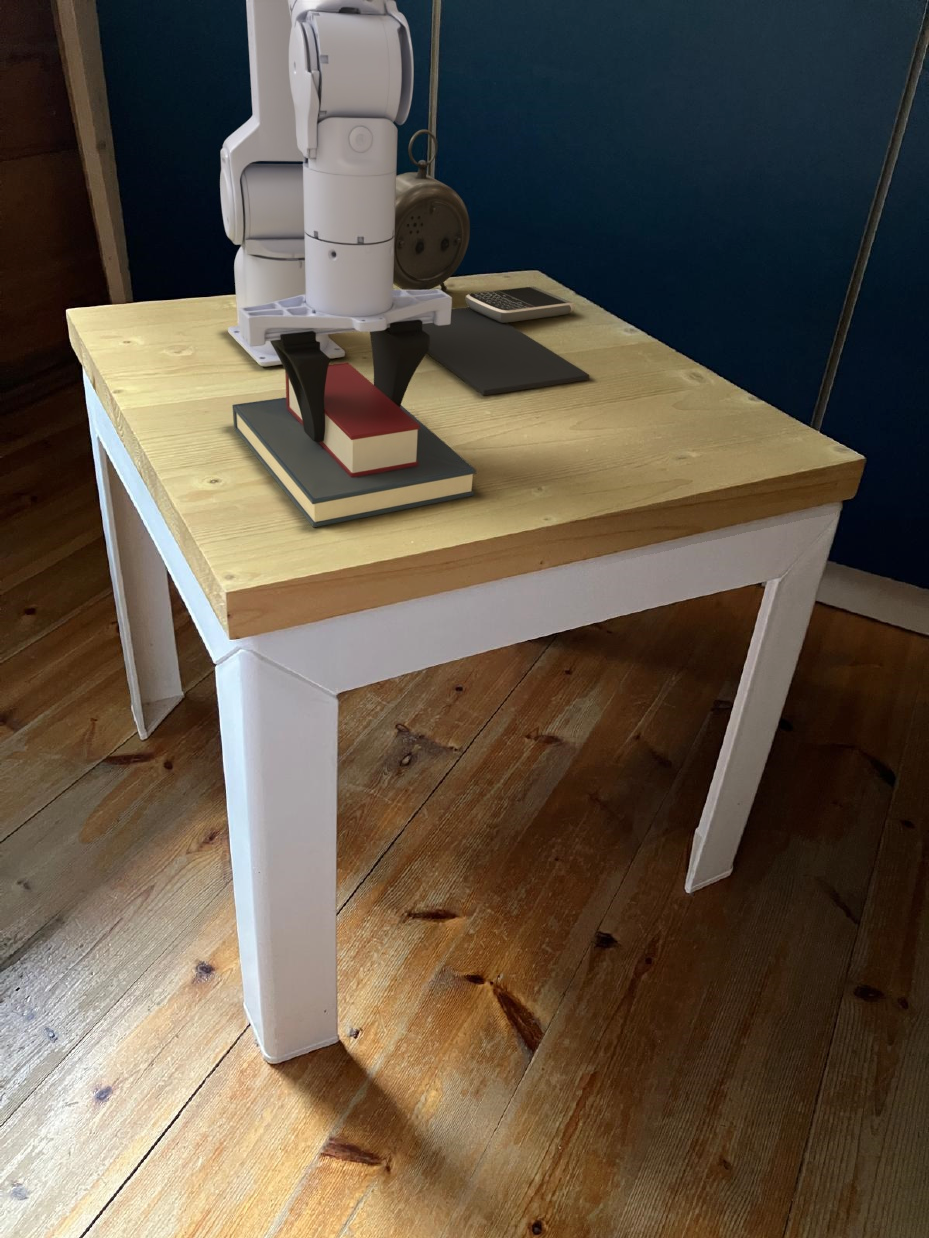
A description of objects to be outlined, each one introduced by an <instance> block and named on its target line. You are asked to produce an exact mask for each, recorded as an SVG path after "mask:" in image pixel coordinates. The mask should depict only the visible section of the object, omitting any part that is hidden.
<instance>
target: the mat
mask: <svg viewBox="0 0 929 1238" xmlns="http://www.w3.org/2000/svg"><path fill="white" fill-rule="evenodd" d="M422 330H423V331H424V332H425V333H427V334H428V335H429V336H430V346H429V351H428V352H427V354H426V355H429V357H431V358H433V359H434V360H436V361H437V362H438V363H439V364H441V365H442V366H443V367H445V368H446V369H447V370H449V371H450V372H451V373H453V374H454V375H455V376H457V377H458V378H459V379H460V380H462V381H463V382H465V383H466V384H467V385H468V386H470V387H471V388H473V389H474V390H475V391H477V392H478V393H479V394H480V395H482V396H489V395H496V394H502V393H510V392H517V391H523V390H531V389H536V388H542V387H548V386H550V387H551V386H555V385H556V386H557V385H562V384H569V383H575V382H576V383H577V382H583V381H589V379H590V374H589V373H587V372H586V371H584V370H583V369H581V368H580V367H578V366H576V365H574V364H573V363H572V362H570V361H569V360H566V359H565V358H564V357H561V356H560V355H558V354H557V353H555V352H553V350H550V349H549V348H547V347H546V346H545V345H543V344H541V343H539V342H538V341H536V340H534V339H533V338H532V337H530V336H528V335H527V334H525V333H524V332H522V331H520V330H519V329H517V328H516V327H514V326H512V325H511V324H509V323H508V322H507V323H501V322H498V321H496V320H494V319H491V318H489V317H487V316H485V315H482V314H480V313H478V312H476V311H474V310H472V309H470V308H469V307H468V306H467V307H457V308H451V323H450V325H441V326H438V325H435V324H434V323H426V324H422Z"/></svg>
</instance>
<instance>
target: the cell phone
mask: <svg viewBox="0 0 929 1238" xmlns="http://www.w3.org/2000/svg"><path fill="white" fill-rule="evenodd" d="M465 303H466V305H467V307H469V308H470V309H472V310H474V311H476V312H478V313H480V314H482V315H485V316H487V317H489V318H491V319H494V320H496V321H498V322H501V323H507V324H508V323H513V322H521V321H527V320H529V321H530V320H535V319H543V318H551V317H557V316H563V315H564V316H565V315H570V314H571V313H572V312H573V311H574V309H575V307H576V303H575V302H573V301H570V300H568V299H565V298H563V297H560V296H558V295H556V294H553V293H550V292H548V291H546V290H543V289H541V288H539V287H536V286H525V287H517V288H508V289H507V288H506V289H499V290H497V289H496V290H489V291H481V292H473V293H469V294H467V295H465Z"/></svg>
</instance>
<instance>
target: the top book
mask: <svg viewBox="0 0 929 1238" xmlns="http://www.w3.org/2000/svg"><path fill="white" fill-rule="evenodd" d="M284 373H285V397H286V404H287V409H288V410H289V411H290V412H291V413H292V415H293V416H294V417H295V418H296V419H297V420H298V421H299V422H300V423H301V424H302V425H303V421H302V416H301V412H300V408H299V405H298V402H297V399H296V396H295V393H294V390H293V387H292V385H291V382H290V380H289V378H288V375H287V373H286V371H285V370H284ZM324 412H325V435H324V441H321V442H319V443H320V444H321V446H322V447H323V448H324V449H325V450H326V451H327V452H328V453H329V454H330V455H331V456H332V457H333V458H334V459H335V461H336V462H337V463H338V464H339V465H340V466H341V467H342V468H343V469H344V470H345V471H346V472H347V473H348V474H349V476H350V477H356V476H362V475H367V474H373V473H379V472H384V471H390V470H395V469H401V468H406V467H412V466H418V461H417V460H416V455H417V434H418V429H420V425H419V424H418V423H417V422H416V421H415V420H413V419H412V418H411V417H410V416H409V415H408V414H407V413H405V412H404V411H403V410H402V409H401V408H400V407H398V406H397V405H396V404H395V403H394V402H393V401H392V400H390V399H389V398H388V397H387V396H386V395H385V394H384V393H382V392H381V391H380V390H379V389H378V388H377V387H376V386H374V383H372V382H371V381H370V380H369V379H367V377H365V375H363V374H362V373H361V372H360V371H358V369H356V368H355V367H354V366H353V365H352V364H351V363H350V362H348V361H347V362H340V363H331V364H329V365H328V370H327V376H326V384H325V394H324Z"/></svg>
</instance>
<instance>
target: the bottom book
mask: <svg viewBox="0 0 929 1238" xmlns="http://www.w3.org/2000/svg"><path fill="white" fill-rule="evenodd" d="M231 406H232V419H233V430H234V432H235V433H236V434H237V435H238V436H239V437H240V438H241V440H242V441H243V442H244V443H245V445H246V446H247V448H248V449H249V450H250V451H251V453H252V454H253V455H254V456H255V457H256V458H257V460H258V461H259V462H260V463H261V465H262V466H263V467H264V469H265V470H266V471H267V472H268V473H269V475H270V476H271V477H272V478H273V480H274V481H275V482H276V483H277V485H278V486H279V487H280V488H281V490H282V491H283V492H284V493H285V494H286V496H287V497H288V498H289V499H290V501H291V502H292V503H293V504H294V505H295V507H296V508H297V509H298V511H299V513H301V514H302V516H303V518H305V520H306V521H307V522H308V523H309V524H310V526H311V527H312V528H317V527H323V526H328V525H334V524H337V523H343V522H347V521H348V522H349V521H353V520H359V519H362V518H369V517H372V516H373V517H374V516H378V515H383V514H388V513H392V512H398V511H402V510H403V511H404V510H407V509H413V508H417V507H422V506H423V507H424V506H428V505H432V504H437V503H438V504H439V503H442V502H448V501H453V500H458V499H462V498H468V497H472V496H474V495H475V491H474V490H473V478H474V475H475V474H477V469H476V468H475V467H473V466H472V465H471V464H470V463H469V462H467V461H466V460H465V459H464V458H463V457H462V456H461V455H459V454H458V453H457V451H455V450H454V449H453V448H452V447H450V446H449V445H448V444H447V443H445V441H443V440H442V439H441V438H440V437H439V436H438V435H436V434H435V433H434V432H433V431H432V430H431V429H429V428H428V427H427V425H425V424H424V423H422V422H421V421H420V420H419V419H418V418H417V417H416V416H415V415H413V414H412V413H411V412H410V411H409V410H408V409H407V408H405V406H403V405H402V404H401V406H400V408H401V409H402V410H403V411H404V412H405V413H407V414H408V415H409V416H410V417H411V418H412V419H413V420H415V421H416V422H417V423H418V424H419V425H420V429H418V434H417V455H416V460H417V461H418V466H412V467H406V468H401V469H395V470H390V471H384V472H379V473H373V474H367V475H362V476H356V477H350V476H349V474H348V473H347V472H346V471H345V470H344V469H343V468H342V467H341V466H340V465H339V464H338V463H337V462H336V461H335V459H334V458H333V457H332V456H331V455H330V454H329V453H328V452H327V451H326V450H325V449H324V448H323V447H322V446H321V444H320V443H319V442H314V441H313V440H312V439H311V438H310V437H309V436H308V435H307V434H306V433H305V432H304V426H303V425H302V424H301V423H300V422H299V421H298V420H297V419H296V418H295V417H294V416H293V415H292V413H291V412H290V411H289V410H288V409H287V404H286V396H285V397H279V398H271V399H265V400H256V401H251V402H241V403H236V404H235V403H233V404H232V405H231Z"/></svg>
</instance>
